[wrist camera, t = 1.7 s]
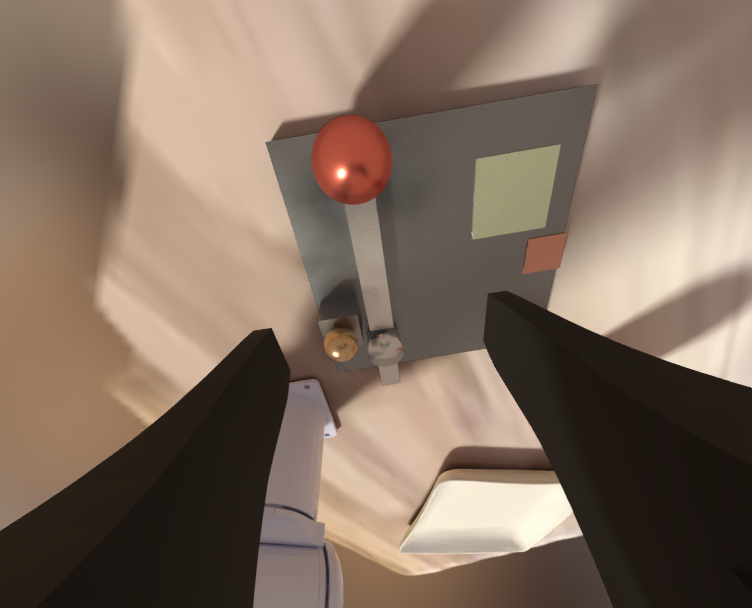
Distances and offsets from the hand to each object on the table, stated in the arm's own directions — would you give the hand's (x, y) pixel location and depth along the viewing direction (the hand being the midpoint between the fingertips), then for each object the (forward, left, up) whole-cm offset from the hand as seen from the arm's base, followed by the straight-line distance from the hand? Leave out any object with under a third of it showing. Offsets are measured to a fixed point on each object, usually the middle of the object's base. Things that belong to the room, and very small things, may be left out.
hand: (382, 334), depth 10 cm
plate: (+4, -2, -10) cm, 10 cm away
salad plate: (+10, -40, -10) cm, 43 cm away
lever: (0, -2, -8) cm, 9 cm away
